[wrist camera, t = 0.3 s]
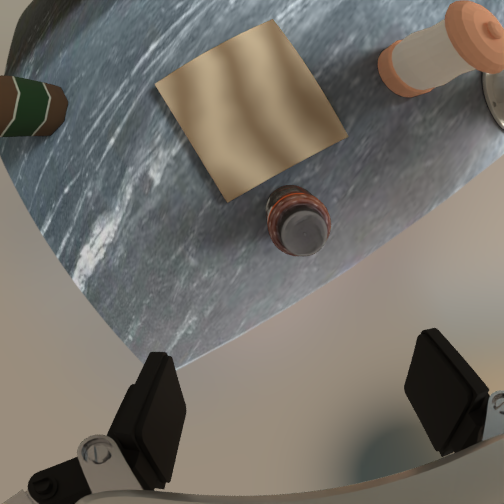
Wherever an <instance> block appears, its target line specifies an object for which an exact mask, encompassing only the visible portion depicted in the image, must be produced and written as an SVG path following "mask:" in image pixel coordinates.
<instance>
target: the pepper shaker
mask: <svg viewBox="0 0 504 504" xmlns="http://www.w3.org/2000/svg"><path fill="white" fill-rule="evenodd" d="M476 69H477V70H479V71H482V72H485V73H489V74H496V73H500V72H501V71H502V70H504V29H503V27H502V26H501V24H500V23H499V21H498V20H497V19H496V18H495V17H494V16H493V15H492V13H491V12H490V11H488V10H487V9H486V8H484V7H483V6H481V5H479V4H476V3H474V2H471V1H455V2H454V3H452V4H450V6H449V8H448V10H447V12H446V15H445V19H444V20H442V21H441V22H439V23H437V24H436V25H434V26H432V27H430V28H427V29H424V30H420V31H417V32H414V33H412V34H410V35H409V36H407V37H406V38H405V39H403V40H398V41H396V42H395V43H393V44H392V45H390V46H389V47H388V48H386V49H385V50H384V51H383V52H382V53H381V54H380V56H379V58H378V71H379V74H380V76H381V78H382V81H383V82H384V83H385V85H386V86H387V87H388V88H389V89H390V90H391V91H393V92H394V93H395V94H398V95H400V96H402V97H414V96H418V95H421V94H424V93H427V92H430V91H431V90H432V89H434V88H435V87H438V86H441V85H445V84H446V83H448V82H449V81H451V80H452V79H454V78H456V77H457V76H459V75H460V74H463V73H466V72H469V71H473V70H476Z"/></svg>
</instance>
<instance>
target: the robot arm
mask: <svg viewBox="0 0 504 504" xmlns="http://www.w3.org/2000/svg"><path fill="white" fill-rule="evenodd" d="M482 80H483V90H484V95H485V99H486V102H487V104H488V107H489V109H490V111H491V113H492V115H493V117H494V119H495V120H496V122H497V123H498V124H499V125H500V127H501V128H502V129H504V70H502V71H501V72H500V73H496V74H489V73H485V72H483V77H482ZM404 390H405V393H406V395H407V397H408V399H409V401H410V403H411V404H412V406H413V408H414V410H415V412H416V414H417V416H418V417H419V419H420V421H421V423H422V425H423V427H424V429H425V431H426V433H427V435H428V437H429V439H430V441H431V443H432V445H433V447H434V448H435V450H436V451H439V452H440V454H441V456H442V457H443V456H445V455H448V454H450V453H453V452H455V453H454V454H451V455H449V456H446V457H444V458H441V459H439V460H436V461H434V462H431V463H428V464H425V465H422V466H419V467H416V468H414V469H410V470H407V471H404V472H400V473H397V474H393V475H390V476H386V477H382V478H379V479H375V480H371V481H366V482H362V483H357V484H353V485H348V486H342V487H337V488H331V489H324V490H317V491H310V492H301V493H291V494H280V495H263V496H216V495H215V496H214V495H195V494H183V493H172V492H160V491H154V489H155V488H159V489H164V488H165V484H166V482H168V483H169V482H170V481H171V477H172V473H173V468H174V464H175V459H176V455H177V450H178V446H179V441H180V437H181V433H182V429H183V424H184V420H185V415H186V404H185V401H184V398H183V395H182V391H181V388H180V384H179V381H178V377H177V374H176V370H175V366H174V363H173V359H172V357H171V356H168V355H167V353H166V352H150V354H149V356H148V358H147V360H146V362H145V364H144V366H143V368H142V370H141V373H140V374H139V377H138V379H137V381H136V383H135V384H132V385H131V386H130V387H129V389H128V391H127V393H126V395H125V397H124V399H123V401H122V403H121V405H120V407H119V410H118V412H117V414H116V416H115V418H114V420H113V423H112V425H111V427H110V429H109V431H108V434H107V436H105V435H93V436H90V437H88V438H86V439H84V441H82V442H81V443H80V445H79V447H78V450H77V455H78V457H75V458H73V459H71V460H68V461H66V462H63V463H61V464H58V465H56V466H53V467H50V468H48V469H45V470H42V471H40V472H37V473H35V474H34V475H33V476H32V477H31V478H30V480H29V482H28V490H27V491H26V492H25V491H23V490H21V491H19V492H18V493H17V494H15V495H14V496H12V497H11V498H10V499H8V500H7V501H5V502H4V503H2V504H504V391H496V392H494V393H492V394H491V396H490V395H489V394H488V391H489V389H488V387H487V386H486V385H485V383H484V382H483V381H482V380H481V379H480V377H479V376H478V375H477V374H476V373H475V371H474V370H473V369H472V368H471V367H470V366H469V364H468V363H467V362H466V361H465V360H464V358H463V357H462V356H461V355H460V354H459V353H458V351H456V349H455V348H454V347H453V346H452V345H451V344H450V342H449V341H448V340H447V339H446V338H445V337H444V336H443V335H442V334H441V332H440V331H439V330H437V329H436V328H432V329H427V330H423V331H422V332H421V334H420V335H419V336H418V337H417V341H416V345H415V349H414V354H413V357H412V361H411V364H410V368H409V371H408V375H407V379H406V382H405V385H404Z"/></svg>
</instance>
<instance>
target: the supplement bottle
mask: <svg viewBox="0 0 504 504" xmlns="http://www.w3.org/2000/svg"><path fill="white" fill-rule="evenodd" d="M266 218H267V225H268V231H269V235H270V237H271V239H272V241H273V243H274V244H275V246H276V247H277V248H278V249H280V250H281V251H282V252H284V253H286V254H289V255H292V256H310V255H313V254H315V253H316V252H318V251H319V250H320V249H321V248H322V247H323V246H324V244H325V242H326V240H327V238H328V236H329V234H330V229H331V220H330V216H329V213H328V211H327V209H326V207H325V206H324V204H323V203H322V202H321V201H320V200H318V199H317V198H316V197H315V196H313V195H312V194H311V193H310V192H308V191H307V190H305V189H304V188H302V187H299V186H295V185H287V186H283V187H280V188H278V189H277V190H275V191H274V192H273V193H272V194H271V196H270V197H269V199H268V201H267V205H266Z"/></svg>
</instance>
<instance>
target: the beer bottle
mask: <svg viewBox="0 0 504 504" xmlns="http://www.w3.org/2000/svg"><path fill="white" fill-rule="evenodd" d="M67 106H68V100H67V98H66V96H65V95H64V93H63V91H62V89H61V87H58V86H55V85H52V84H47V83H43V82H38V81H34V80H29V79H24V78H19V77H14V76H0V137H16V136H48V135H52V134H53V133H54V132H55V130H56V129H57V128H58V127H59V126H60V125H61V124H62V123H63V122H64V120H65V115H66V111H67Z"/></svg>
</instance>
